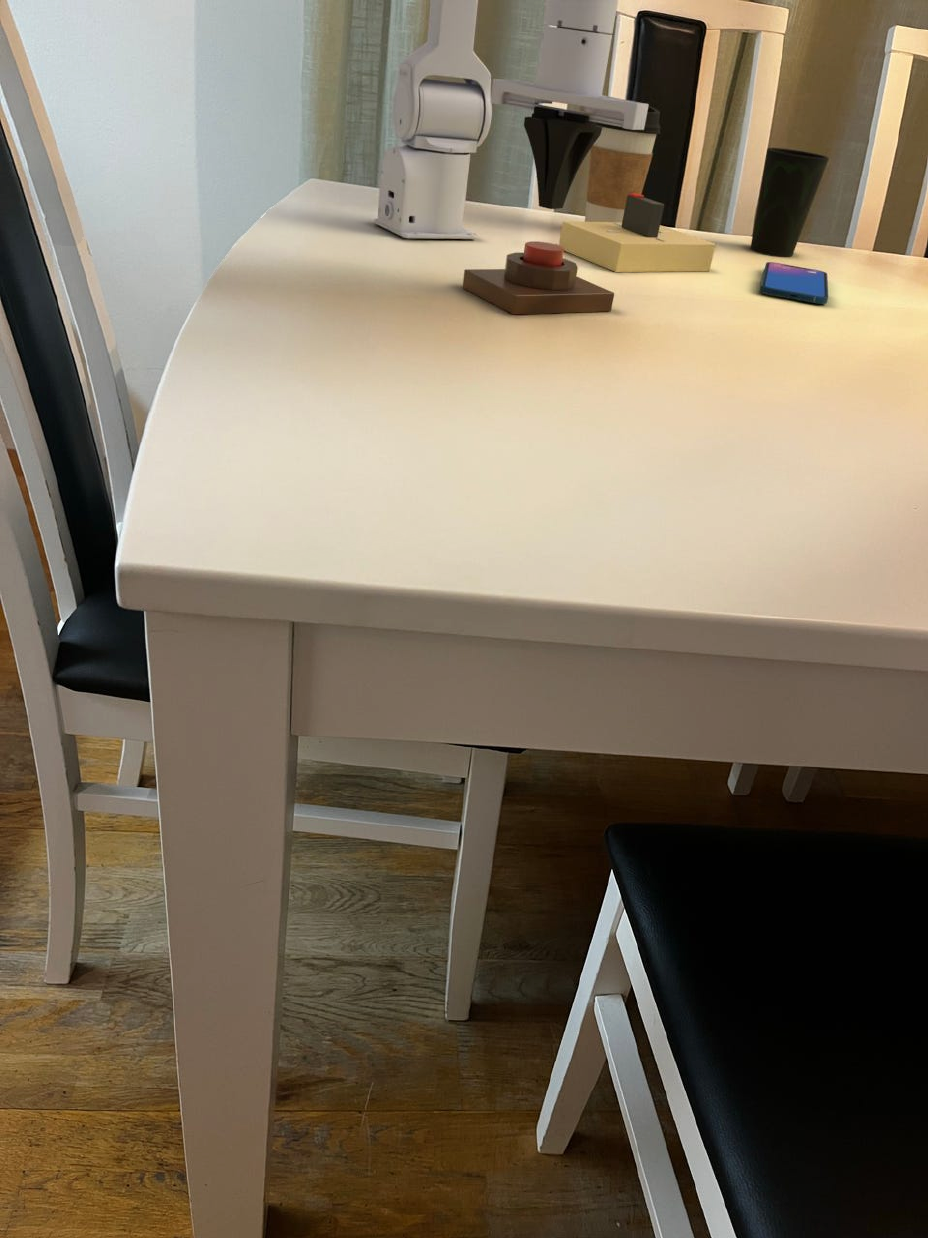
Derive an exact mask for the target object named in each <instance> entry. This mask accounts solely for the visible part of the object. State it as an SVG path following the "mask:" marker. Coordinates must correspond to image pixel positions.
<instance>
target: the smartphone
mask: <svg viewBox="0 0 928 1238" xmlns="http://www.w3.org/2000/svg"><path fill="white" fill-rule="evenodd" d="M764 265H765V266H764V269H763V271H762V278H761V283H760V287H759V292H761V293H762V294H766V295H768V296H769V295H770V296H775V297H781V298H786V299H791V300H797V301H801V302H802V301H803V302H807V303H813V304H819V305H826V304H827V303H828V300H829V281H828V279H829V278H828V273H827V272H825V271H822V270H819V269H814V268H807V267H803V266H796V265H791V264H785V263H779V262H772V261H768V262H766V263H765V264H764Z"/></svg>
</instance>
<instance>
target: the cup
mask: <svg viewBox="0 0 928 1238" xmlns="http://www.w3.org/2000/svg"><path fill="white" fill-rule="evenodd" d="M765 154H766V155H765V161H764V166H763V173H762V179H761V185H760V190H759V196H758V202H757V208H756V213H755V220H754V224H753V225H754V226H753V231H752V235H751V236H752V237H751V243H750V250H751V251H754V252H757V253H758V254H763V255H768V256H773V257H781V258H783V257H784V258H790V257H793V255H794V252H795V250H796V247H797V245H798V243H799V239H800V236H801V234H802V231H803V229H804V226H805V223H806V220H807V218H808V215H809V213H810V210H811V207H812V205H813V202H814V199H815V196H816V194H817V192H818V189H819V186H820V183H821V181H822V178H823V176H824V173H825V170H826V167H827V165H828V163H829V162H828V161H829V160H830V158H829V157H828V156H826V155H823V154H818V153H813V152H809V151H804V150H797V149H789V148H782V147H768V148H767V149H766V153H765Z"/></svg>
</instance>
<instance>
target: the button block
mask: <svg viewBox="0 0 928 1238" xmlns="http://www.w3.org/2000/svg"><path fill="white" fill-rule="evenodd" d="M523 254H524V252H512V253H509V254H506V260H505V265H504V268H483V269H482V268H480V269H478V268H476V269H475V268H473V269H471V268H470V269H467V268H466V269H463V270H464V272H463V279H462V289H464V290H465V291H468V292H470V293H472V294H473V295H475V296H478V297H479V298H481V299H482V300H485V301H486V302H488V303H490V304H493V305H494V306H496V307H498V308H500V309H501V310H504V311H506V312H508V313H510V314H511V315H513V316H515V315H518V316H519V315H541V314H542V315H545V314H546V315H548V314H570V313H571V314H572V313H573V314H574V313H575V314H576V313H600V312H611V311H612V307H613V302H614V298H615V292H613V291H610V290H609V289H607V288H604V287H602V286H600V285H597V284H595V283H593V282H591V281H588V280H586V279H583V278H581V277H579V276H578V271H579V270H578V269H579V268H578V267H579V266H578V265H577V263H576V262H574V261H571V260H569V259H567V258H564V257H563V258H562V265H561V267H548V266H540V265H534V264H530V263H526V262H524V261H523Z"/></svg>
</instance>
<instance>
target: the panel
mask: <svg viewBox="0 0 928 1238" xmlns="http://www.w3.org/2000/svg"><path fill="white" fill-rule="evenodd" d="M621 225H622V223H621V222H585V221H574V220H573V221H571V220H569V221H568V220H566V221H565V220H563V221H562V224H561V230H560V236H559V241H558V245H559V246H561V247H563V248H564V252H567V253H569V254H572V255H573V256H577V257H579V258H581V259H583V260H585V261H588V262H591V263H593V264H595V265H598V266H600V267H603V268H604V269H608V270H610V271H613V272H615V273H641V272H642V273H651V272H652V273H653V272H654V273H657V272H658V273H659V272H662V273H663V272H665V273H666V272H710V270H711V266H712V262H713V258H714V254H715V250H716V246H717V244H716V243H714V242H711V241H708V240H705V239H703V238H699V237H696V236H693V235H690V234H687V233H684V232H682V231H679V230H676V229H673V228H670V227H668V226H664V225H661V224H660V228H659V233H658V237H646V236H643V235H640V234H638V233H635V232H633V231H630V230H627V229H625V228H622V227H621Z"/></svg>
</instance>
